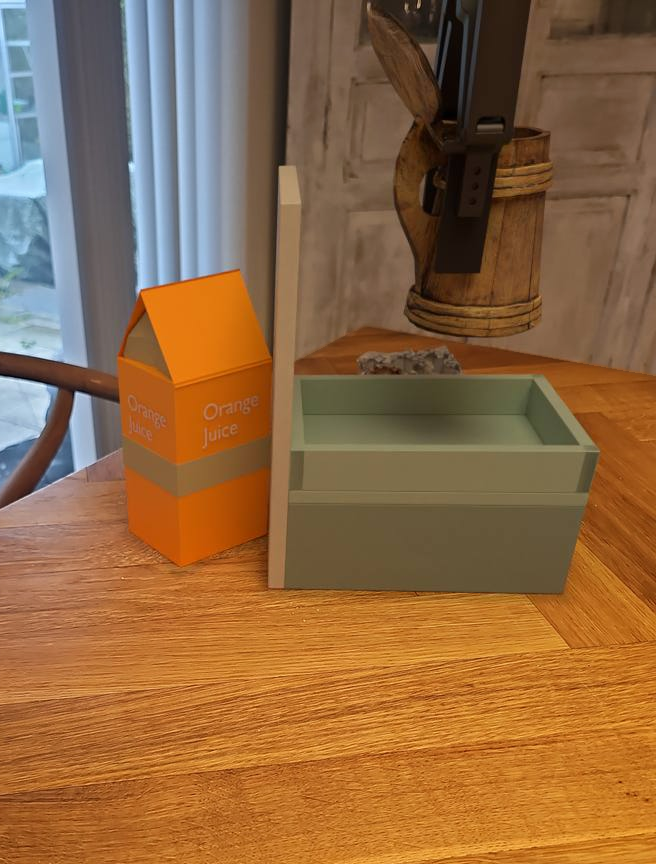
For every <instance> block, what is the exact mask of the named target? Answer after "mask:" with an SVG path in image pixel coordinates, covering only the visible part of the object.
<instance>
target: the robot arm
mask: <svg viewBox="0 0 656 864" xmlns="http://www.w3.org/2000/svg"><path fill="white" fill-rule="evenodd" d="M441 4H442V5H441V11H440V18H439V24H438V25H439V27H438V35H437V40H436V41H437V42H436V49H435V57H434V63H433V64H434V65H433V72H434V75H435V77H436V79H437V81H438V84H439V88H440V91H441V96H442V107H441V108H442V120H445V121H452V122H457V127H456V138H455V140H446V142H445V143H444V144H443V146H442V155H449V158H448V165H447V173H446V181H445V188H444V196H443V204H442V211H441V219H440V227H439V234H438V242H437V250H436V257H435V265H434V272H435V274H455V273H480V270H481V264H482V258H483V252H484V245H485V239H486V233H487V227H488V220H489V214H490V208H491V202H492V195H493V189H494V183H495V177H496V170H497V164H498V158H499V154H500V152H501V149H502V147H503V146H504V145H509V144H510V142H511V140H512V137H513V134H514V127H513V126H515V125H514V124H515V118H516V113H517V105H518V98H519V90H520V82H521V77H522V76H521V75H522V69H523V61H524V54H525V48H526V47H525V46H526V41H527V34H528V33H527V32H528V28H529V27H528V26H529V20H530V13H531V4H532V0H442V3H441ZM438 167H439V166H438ZM438 167H435V168H432V169H430V170H429V171H428V172H427V173H426V174H425V175H424V177H425V178H424V186H423V195H422V203H421V206H422V209H423V210H424V211H426V212H428V213H429V214H431V213H432V210H433V206H434V201H435V196H436V192H437V187H436V186H435V185H434V184H433V178H434V176H435V173H436V171H437V169H438Z"/></svg>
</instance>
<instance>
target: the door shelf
mask: <svg viewBox="0 0 656 864" xmlns="http://www.w3.org/2000/svg"><path fill="white" fill-rule="evenodd" d="M277 178H278V179H277V180H278V182H277V210H276V211H277V215H276V221H277V222H276V243H275V244H276V245H275V247H276V248H275V249H276V250H275V251H276V252H275V254H276V255H275V278H274V281H275V283H274V311H273V312H274V313H273V347H272V381H271V416H270V435H271V441H270V466H269V485H268V527H267V535H268V541H267V544H268V545H267V546H268V547H267V549H268V550H267V551H268V552H267V555H268V556H267V589H278V590H279V589H283V590H284V589H285V590H335V591H337V590H338V591H340V590H342V591H383V592H385V591H386V592H387V591H388V592H391V591H394V592H436V593H437V592H438V593H442V592H445V593H446V592H447V593H488V594H489V593H494V594H496V593H498V594H543V595H544V594H545V595H551V594H553V595H563V594H564V591H565V587H566V584H567V579H568V576H569V572H570V569H571V564H572V562H573V557H574V553H575V549H576V546H577V541H578V538H579V535H580V530H581V527H582V523H583V518H584V515H585V512H586V506H587V503H588V500H589V496H590V493H591V489H592V485H593V481H594V477H595V473H596V471H597V466H598V462H599V460H600V459H599V458H600V455H601V450H600V449H599V448H598V446H597V445H596V444H595V442H594V441H593V439H592V438H591V437H590V435H589V434H588V433H587V432H586V430H585V429H584V428H583V426H582V425H581V423H580V422H579V421H578V420H577V418H576V417H575V416H574V414H573V412H572V411H571V410H570V408H569V407H568V405H566V403H565V402H564V401H563V399H562V398H561V397H560V395H559V393H558V392H557V391H556V390H555V388H554V387H553V386H552V384H551V382H549V380H548V379H547V378H546V377H545V375H544V374H543V373H526V374H525V373H515V374H514V373H512V374H511V373H507V374H506V373H505V374H504V373H503V374H501V373H497V374H496V373H495V374H494V373H493V374H492V373H488V374H487V373H486V374H485V373H484V374H483V373H482V374H481V373H479V374H477V373H476V374H473V373H471V374H468V373H467V374H466V373H465V374H464V373H462V374H450V375H358V374H295V357H296V356H295V355H296V336H297V334H296V333H297V313H298V310H297V309H298V292H299V291H298V289H299V288H298V287H299V269H300V268H299V267H300V247H301V246H300V245H301V224H302V223H301V222H302V197H301V192H300V185H299V178H298V172H297V166H296V165H279V166H278V177H277Z"/></svg>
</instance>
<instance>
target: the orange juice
mask: <svg viewBox="0 0 656 864" xmlns="http://www.w3.org/2000/svg"><path fill="white" fill-rule="evenodd" d="M116 367H117V369H116V370H117V381H118V382H117V383H118V395H119V408H120V421H121V422H120V423H121V443H122V445H121V446H122V459H123V460H122V461H123V465H124V475H125V489H126V490H125V491H126V501H127V502H126V504H127V516H128V517H127V518H128V528H129V529H128V530H129V532H130V533H131V534H132V535H134V536H135V537H137V538H138V539H140V540H141V541H143V542H144V543H145V544H146V545H148V546H150V547H151V548H152V549H153V550H155V551H157V552H158V553H159V554H161V555H162V556H164V557H165V558H166V559H168V560H169V561H171V562H172V563H174V564H175V565H177V566H178V567H179V568H183V567H186V566H189V565H191V564H193V563H197V562H199V561H201V560H204V559H206V558H207V559H208V558H209V557H211V556H215V555H217V554H219V553H222V552H225V551H227V550H230V549H232V548H235V547H237V546H240V545H242V544H243V545H244V544H245V543H248V542H251V541H253V540H255V539H256V540H257V539H258V538H261V537H263V536H266V535H268V521H269V473H270V441H271V407H272V375H273V356H271V353H270V351H269V348H268V345H267V343H266V340H265V337H264V334H263V331H262V328H261V326H260V323H259V320H258V317H257V314H256V311H255V309H254V306H253V303H252V301H251V298H250V295H249V291H248V290H247V286H246V283H245V282H244V278H243V276H242V273H241V268H236V269H232V270H226V271H221V272H217V273H216V272H215V273H212V274H208V275H203V276H198V277H193V278H189V279H184V280H183V279H182V280H179V281H175V282H174V281H173V282H169V283H164V284H160V285H155V286H151V287H145V288H140V290H139V293H138V295H137V298H136V301H135V304H134V307H133V310H132V313H131V315H130V319H129V322H128V324H127V327H126V330H125V333H124V336H123V338H122V342H121V344H120V348H119V350H118V353H117V356H116Z"/></svg>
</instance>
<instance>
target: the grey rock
mask: <svg viewBox="0 0 656 864" xmlns="http://www.w3.org/2000/svg"><path fill="white" fill-rule="evenodd" d="M356 363H358V371H357V375H450V374H466V369H463V370H462V368H461V363H460V361H457V358H456V357H455V356H454V354H453V353H450V350H449V349H448V347H447V345H441V346H438V347H436V348H429V349H428V350H426V349H419V350H418V351H416V352H415V351H414V350H413V349H412V348H409V349H407V350H404V351H392V352H381V351H378V350H377V351H376V350H369V351H367V352H365V353H364V354H362V355H360V356H359V357H358V358H356Z"/></svg>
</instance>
